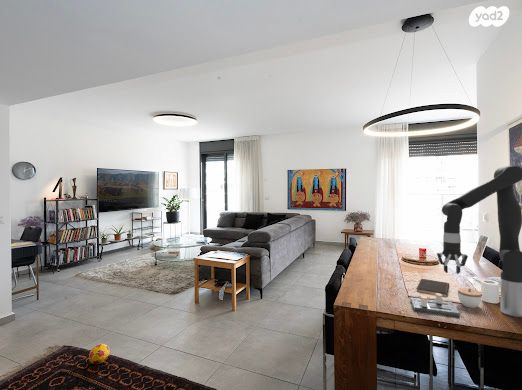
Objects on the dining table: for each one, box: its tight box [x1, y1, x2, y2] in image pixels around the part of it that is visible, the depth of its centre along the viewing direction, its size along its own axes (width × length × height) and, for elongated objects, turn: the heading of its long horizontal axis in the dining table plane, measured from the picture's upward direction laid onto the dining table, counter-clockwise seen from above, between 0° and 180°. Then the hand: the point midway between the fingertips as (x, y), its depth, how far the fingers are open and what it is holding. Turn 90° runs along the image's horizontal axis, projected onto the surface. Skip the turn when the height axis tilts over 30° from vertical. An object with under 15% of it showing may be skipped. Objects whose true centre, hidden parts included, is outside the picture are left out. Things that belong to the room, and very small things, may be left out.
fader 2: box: [434, 293, 443, 304], centre depth 149 cm, size 2×3×4 cm
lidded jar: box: [457, 287, 483, 309], centre depth 150 cm, size 11×11×9 cm
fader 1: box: [420, 295, 428, 307], centre depth 145 cm, size 2×3×4 cm
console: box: [410, 297, 461, 318], centre depth 147 cm, size 20×14×2 cm
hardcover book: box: [416, 278, 450, 298], centre depth 177 cm, size 16×23×2 cm
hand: (451, 272), depth 146 cm, fingers open, 4 cm apart
